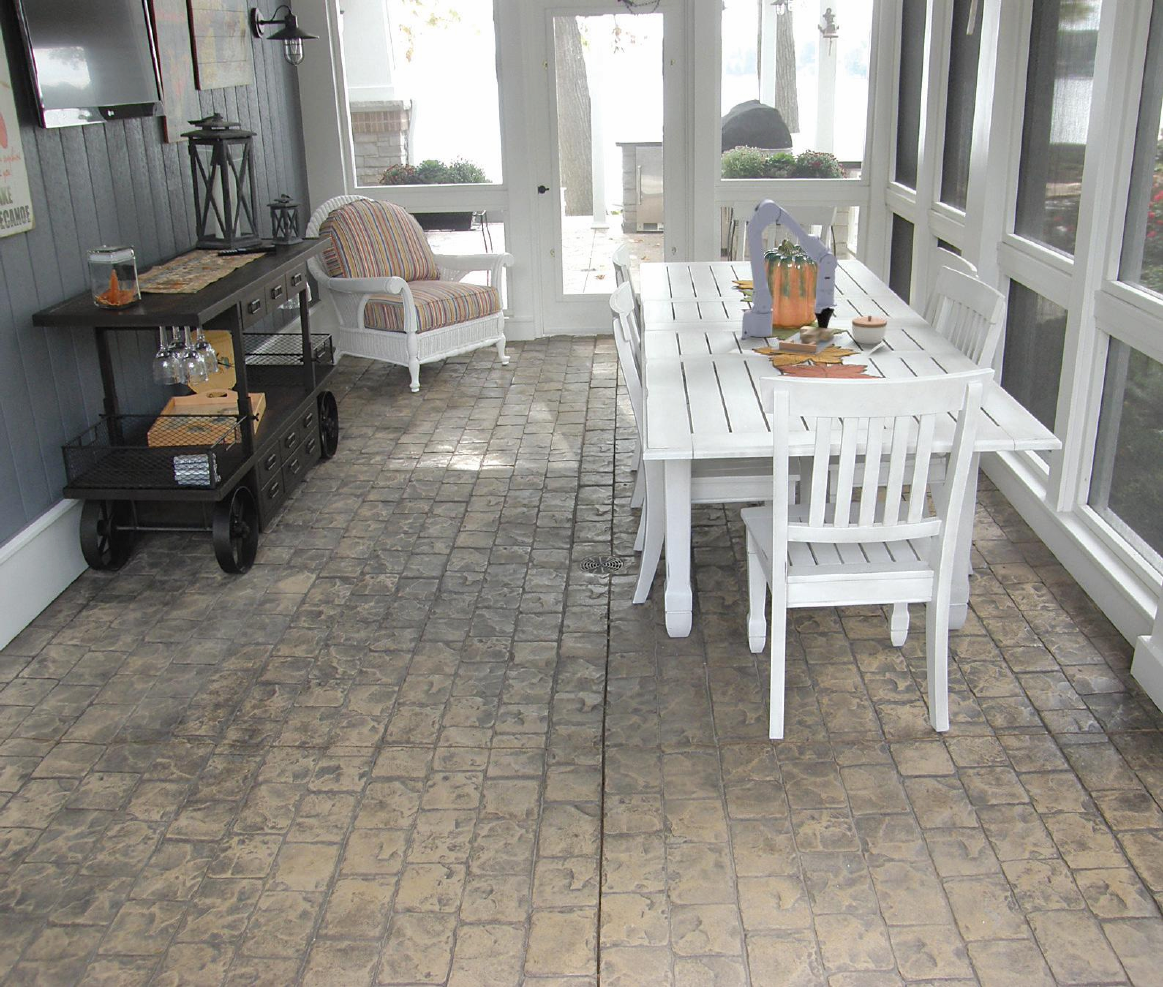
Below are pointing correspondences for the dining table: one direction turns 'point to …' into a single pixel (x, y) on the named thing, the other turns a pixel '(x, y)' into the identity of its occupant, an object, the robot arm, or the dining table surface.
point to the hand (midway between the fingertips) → (822, 331)
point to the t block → (815, 334)
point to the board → (803, 345)
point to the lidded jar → (868, 329)
